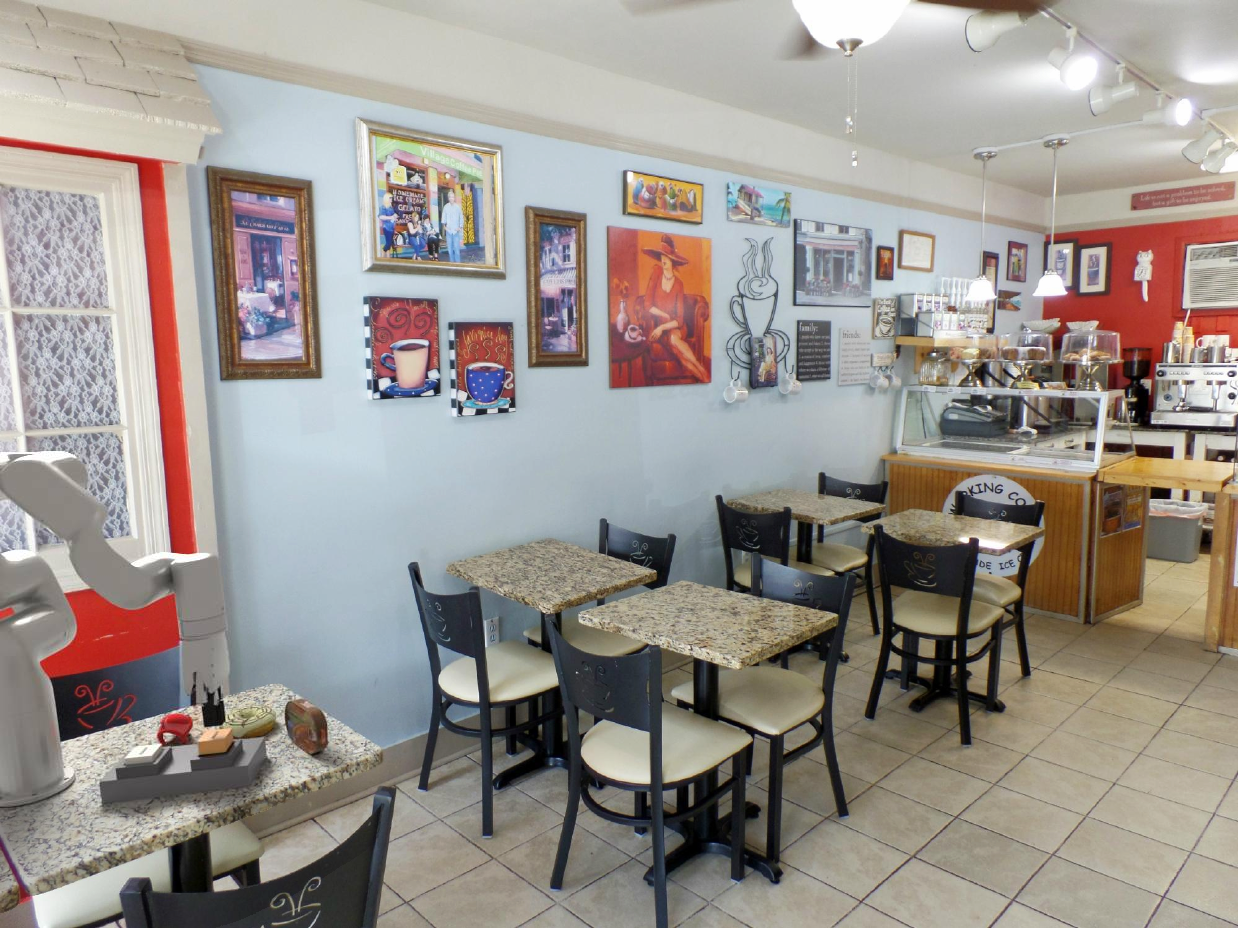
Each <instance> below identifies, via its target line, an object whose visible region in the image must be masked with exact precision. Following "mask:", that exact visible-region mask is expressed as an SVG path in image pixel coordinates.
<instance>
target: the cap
mask: <svg viewBox="0 0 1238 928" xmlns="http://www.w3.org/2000/svg"><path fill="white" fill-rule="evenodd" d="M193 722H194V720H193V718H192V716H188V715H186V714H184V713H179V712H177V713H176V712H175V713H171V714H170V713H169V714H167V715H166V716H164V717H163V718H162V719H161V721H160V723H159V724H160V726H159V728H158V730H157V734H156V737H157V738H156V739H157V740H158V742H159V744H162V747H166V745H167V741H166V740H165V739H164V734H171V735H173V736H177V737H178V738H180V739H181V741H182V742H183V743H184V745H187V744H188V743H189V740H188V739H187V736H188V735H189V733H190V732H191V730H192V729H193V727H194V723H193ZM186 743H187V744H186Z"/></svg>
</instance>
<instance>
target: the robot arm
mask: <svg viewBox="0 0 1238 928" xmlns="http://www.w3.org/2000/svg"><path fill="white" fill-rule="evenodd" d="M88 474H89V473H88V470H87V468H86V466H85V464H84V463H83V462H82V461H81V459H80V458H78V457H77V456H75V455H74V454H71V453H69V452H65V451H57V450H55V451H54V450H53V451H38V452H37V451H36V452H34V451H33V452H29V451H27V452H0V502H2V501H6V500H9V501H10V502H12V503H13V504H14V505H16V507H18V508H20V509H21V510H22V511H23V512H25V514H27V515H28V516H30V517H31V518H32V519H34V520H35V521H36V522H38V523H39V524H41V526H43V528H45V529H47V530H48V531H49V532H50V533H51V534H53V535H54V536H55V537H57V539H59V540H60V541H62V542H63V543H64V544H65V546H66V551H67V552H66V553H67V554H68V558H69V560H70V563H71V565H72V567H73V569H74V570H75V572H76V574H77V576H78V577H79V579H80V580H81V581H82V582H83V583H84V584H86V585H87V586H88V587H89V588H91V590H93V592H94V591H95V593H97V594H98V595H99V596H101V597H102V598H104V599H105V600H106V601H107V602H108V603H111V604H112V605H114V606H116V607H118V608H120V609H121V608H122V609H124V610H140V609H142V608H145V607H147V606H149V605H151V604H153V603H155V602H156V601H158V600H160V599H162V598H165V597H168V596H171V595H172V594H174V601H175V607H176V609H175V610H176V617H177V625H178V633H179V638H180V639H181V640H182V641H181V668H182V669H181V670H182V671H181V672H182V683H183V685H182V687H183V694H184V695H185V696H187V697H189V696H191V695H192V694H193V693H194V692H195V697H196V700H195V701H196V704H197V705H200V707H201V713H202V715H201V716H202V722H203V727H204V728H213V727H219V726H221V725H223V723H224V722H225V721H226V717H225V714H226V711H225V701H224V685H223V684H224V682H225V681H226V680H227V678H228V677H229V675H230V672H231V667H230V666H231V665H230V655H229V648H228V647H229V646H228V642H227V638H226V632H227V631H228V629H229V625H228V618H227V610H226V609H227V608H226V601H225V593H224V583H223V573H222V566H221V561H220V558H219V556H218V555H217V554H214V553H210V552H198V553H191V554H184V553H183V554H182V553H176V552H175V553H174V552H157V553H153V554H151V555H148V556H146V557H142V558H140V559H138V560H136V561H134V562H130V561H129V560H127V559H126V558H125V557H123V556H122V555H121V554H119V553H118V552H117V551H116V550H115V549H114V548H112V546H111V545H110V544H109V543H108V541H107V539H106V538H105V535H104V532H103V527H104V525H105V524H106V522H107V520H108V518H109V514H110V511H109V509H108V507H107V506H106V505H105V504H104V503H103V502H102V501H100V500H99V499H98V498H97V497H95V495H93V494H91V493H90V492H89V491H88V490H87V489H85V487H86V486H87V483H88V479H89V475H88ZM8 608H11V609H12V611H13V612H14V613H12V614H9V615H8V616H5V617H3V618H0V807H1V808H3V807H4V808H6V807H7V808H8V807H9V808H10V807H17V806H24V805H29V804H31V803H36V802H38V801H39V802H40V801H42V800H45V799H47V798H49V797H52V796H54V795H55V794H58V793H60V792H62V791H63V790H64V789H66V788H68V787H69V786H70V785H71V784H72V783H73V782H74V781H75V779H76V770H75V768H74V767H71V766H70V765H65V764H64V758H63V751H62V750H63V749H62V742H61V737H60V729H59V728H60V727H59V722H58V721H59V720H58V715H57V706H56V700H55V694H54V687H53V684H52V681H51V679H50V677H49V676H48V674H47V673H46V672H45V671H44V669H43V667H42V665H41V663H40V662H41V661H43V660H45V659H46V658H48V657H50V656H52V655H54V654H55V653H57V652H59V651H61V650H63V649H64V648H66V647H67V646H69V645H70V644H71V643H72V641H73V640H74V638H75V637H76V635H77V628H78V624H77V620H76V616H75V614H74V612H73V609H72V607H71V604H70V603H69V601H68V598H67V596H66V595H65V593H64V590H63V589H62V587H61V585H60V583H59V581H58V578H57V577H56V575H55V573H54V571H53V570H52V568H51V566H50V565H49V563H48V562H47V561H46V560H45V559H44V558H43V557H42V556H40V555H39V554H37V553H35V552H33V551H30V550H26V549H14V550H8V551H5V552H2V551H0V612H1V611H3V610H6V609H8Z"/></svg>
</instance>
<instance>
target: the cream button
mask: <svg viewBox="0 0 1238 928" xmlns="http://www.w3.org/2000/svg"><path fill="white" fill-rule="evenodd" d="M162 747H163V745H162V744H161V743H156V744H147V745H138V746H136V745H135V746H134V748H132V749H131V750H130V751H131V752H130V753H129V754H128V755H127V756H126V757H125V758H124V759H125V765H132V764H141V763H150V762H154V761H155V760H156V759H157V758H158V756H159V755H160V754H161V753H162V752H163V749H162Z"/></svg>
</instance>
